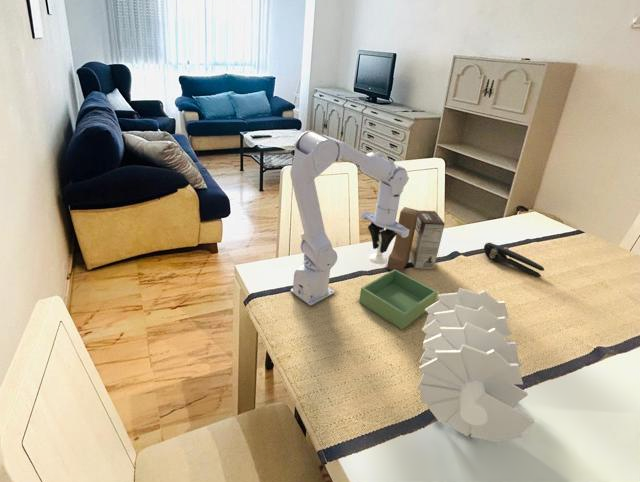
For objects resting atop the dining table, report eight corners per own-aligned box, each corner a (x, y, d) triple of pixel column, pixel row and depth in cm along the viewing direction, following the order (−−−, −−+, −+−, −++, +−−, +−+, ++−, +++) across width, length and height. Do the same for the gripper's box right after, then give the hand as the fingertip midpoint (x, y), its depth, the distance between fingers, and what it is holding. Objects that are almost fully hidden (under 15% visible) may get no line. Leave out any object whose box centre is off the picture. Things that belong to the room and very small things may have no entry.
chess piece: (382, 266, 108) (388, 234, 104) (366, 260, 111) (371, 229, 107) (389, 259, 112) (394, 228, 108) (373, 253, 115) (378, 223, 111)
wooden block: (400, 274, 116) (411, 220, 109) (386, 269, 118) (395, 216, 111) (408, 261, 123) (419, 210, 116) (394, 256, 125) (404, 206, 119)
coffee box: (406, 253, 128) (414, 209, 122) (425, 254, 128) (435, 210, 122) (414, 268, 119) (424, 222, 113) (435, 269, 119) (446, 223, 113)
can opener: (477, 257, 127) (481, 242, 125) (486, 251, 132) (490, 236, 130) (537, 282, 115) (542, 266, 113) (544, 274, 120) (550, 259, 118)
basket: (401, 329, 93) (405, 314, 91) (358, 301, 102) (361, 287, 101) (434, 305, 102) (437, 291, 101) (392, 282, 112) (394, 268, 110)
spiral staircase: (431, 451, 70) (434, 351, 91) (545, 460, 61) (520, 348, 83) (401, 371, 65) (412, 286, 87) (520, 370, 57) (500, 276, 78)
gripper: (418, 212, 103) (409, 256, 107) (374, 194, 113) (368, 235, 118) (404, 218, 98) (395, 264, 103) (359, 200, 108) (353, 242, 113)
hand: (379, 249), depth 110 cm, fingers closed on chess piece
